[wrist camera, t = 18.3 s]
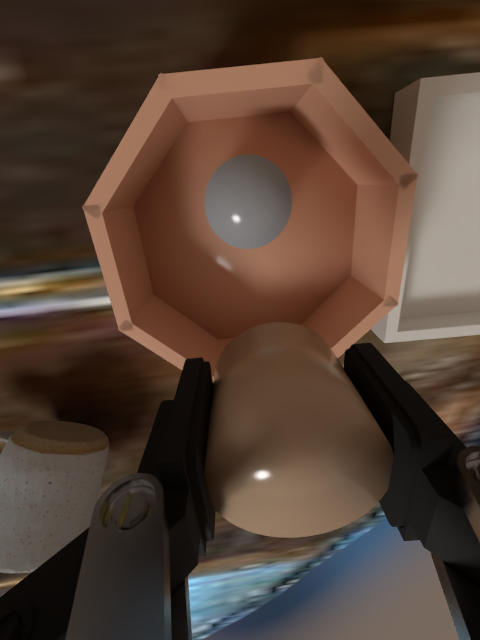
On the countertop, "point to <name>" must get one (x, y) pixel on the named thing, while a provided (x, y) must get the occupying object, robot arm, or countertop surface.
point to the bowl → (280, 254)
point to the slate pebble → (248, 201)
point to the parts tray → (439, 210)
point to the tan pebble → (291, 436)
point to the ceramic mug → (47, 489)
